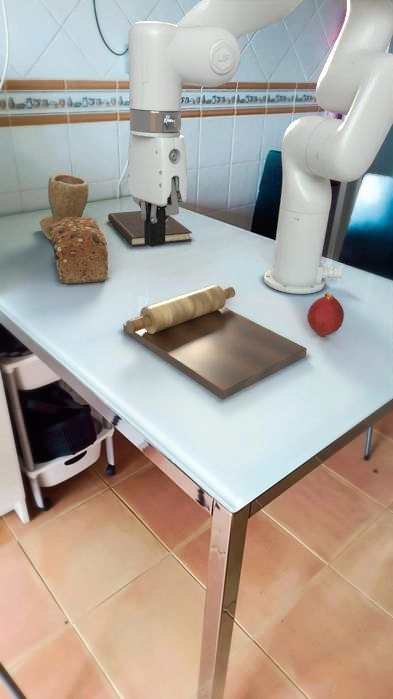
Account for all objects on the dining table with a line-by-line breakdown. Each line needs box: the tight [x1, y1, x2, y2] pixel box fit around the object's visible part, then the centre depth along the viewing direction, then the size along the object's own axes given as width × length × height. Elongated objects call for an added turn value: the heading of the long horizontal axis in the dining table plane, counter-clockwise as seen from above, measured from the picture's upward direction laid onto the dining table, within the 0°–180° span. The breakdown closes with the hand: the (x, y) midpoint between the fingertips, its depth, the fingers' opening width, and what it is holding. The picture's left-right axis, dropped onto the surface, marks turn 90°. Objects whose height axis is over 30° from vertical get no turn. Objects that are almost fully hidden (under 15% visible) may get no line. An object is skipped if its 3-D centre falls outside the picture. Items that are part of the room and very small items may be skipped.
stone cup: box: [39, 173, 89, 241], centre depth 119 cm, size 15×12×15 cm
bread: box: [50, 216, 109, 285], centre depth 101 cm, size 19×11×10 cm, turn 17°
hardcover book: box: [107, 210, 192, 247], centre depth 128 cm, size 16×23×2 cm
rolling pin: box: [125, 284, 236, 334], centre depth 80 cm, size 22×4×4 cm, turn 131°
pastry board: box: [122, 306, 308, 400], centre depth 77 cm, size 18×24×2 cm
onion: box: [306, 292, 345, 338], centre depth 79 cm, size 6×6×8 cm
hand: (154, 244), depth 80 cm, fingers closed
